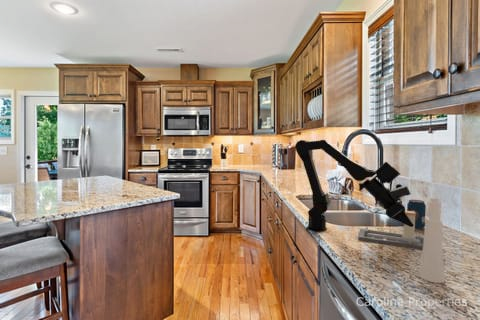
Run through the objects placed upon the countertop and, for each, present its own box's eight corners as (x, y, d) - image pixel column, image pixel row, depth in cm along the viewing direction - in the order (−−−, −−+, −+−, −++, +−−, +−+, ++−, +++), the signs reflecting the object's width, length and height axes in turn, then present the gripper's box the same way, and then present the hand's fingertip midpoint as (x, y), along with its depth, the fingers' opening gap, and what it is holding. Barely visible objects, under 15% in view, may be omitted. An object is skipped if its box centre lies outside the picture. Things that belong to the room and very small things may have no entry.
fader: (402, 239, 101) (403, 212, 101) (401, 236, 105) (402, 210, 104) (416, 241, 99) (417, 213, 99) (414, 238, 103) (416, 211, 102)
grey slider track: (358, 239, 104) (358, 232, 104) (360, 231, 115) (360, 224, 115) (434, 251, 94) (434, 242, 93) (428, 240, 104) (428, 232, 104)
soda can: (402, 226, 123) (403, 200, 123) (412, 224, 126) (413, 198, 126) (418, 230, 117) (419, 202, 116) (428, 228, 120) (429, 201, 119)
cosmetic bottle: (413, 275, 76) (416, 196, 75) (427, 271, 78) (430, 195, 77) (436, 285, 70) (439, 200, 69) (450, 280, 73) (454, 199, 72)
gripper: (397, 180, 95) (435, 215, 90) (394, 175, 111) (425, 204, 107) (372, 200, 99) (406, 235, 94) (372, 193, 115) (402, 222, 111)
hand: (411, 223), depth 101 cm, fingers open, 9 cm apart
